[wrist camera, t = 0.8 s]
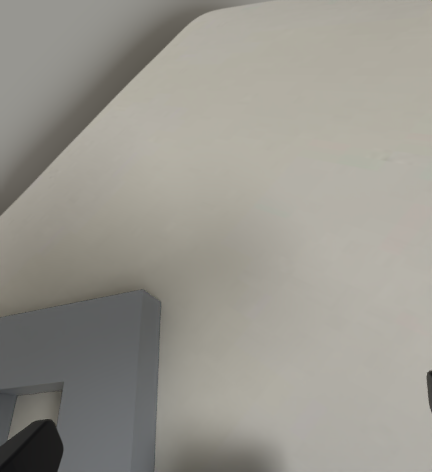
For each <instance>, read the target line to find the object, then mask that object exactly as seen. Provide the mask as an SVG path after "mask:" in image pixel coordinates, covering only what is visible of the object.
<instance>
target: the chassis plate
mask: <svg viewBox="0 0 432 472" xmlns="http://www.w3.org/2000/svg"><path fill="white" fill-rule="evenodd" d="M160 311H161V302H160V301H159V300H158V299H156V298H155V297H153V296H152V295H150V294H149V293H148V292H146V291H145V290H143V289H142V290H137V291H132V292H127V293H122V294H117V295H111V296H106V297H101V298H96V299H91V300H86V301H81V302H76V303H71V304H66V305H61V306H55V307H50V308H45V309H40V310H35V311H30V312H25V313H20V314H15V315H10V316H5V317H0V446H1V445H3V444H4V443H5V442H7V438H8V434H9V429H10V425H11V420H12V416H13V411H14V407H15V402H16V398H17V395H26V394H34V393H43V392H51V391H60V390H63V391H62V398H61V404H60V410H59V416H58V422H57V430H58V433H59V435H60V438H61V440H62V442H63V447H64V451H63V456H62V459H61V463H60V466H59V469H58V472H154V460H155V435H156V411H157V386H158V361H159V336H160Z"/></svg>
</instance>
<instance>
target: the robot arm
mask: <svg viewBox="0 0 432 472" xmlns="http://www.w3.org/2000/svg"><path fill="white" fill-rule="evenodd" d="M427 387H428V398H429V405H430V409H431V412H432V370H431V371H429V372H428V373H427ZM63 451H64V447H63V442H62V440H61V438H60V435H59V433H58V430H57V428H56V426H55V423H54V422H53V421H52V420H50V419H45V420H38V421H35V422H33V423H31V424H30V425H29V426H27V427H26V428H25V429H23V430H22V431H20V432H19V433H18V434H16V435H15V436H14V437H12V438H11V439H9V440H8V441H7V442H5V443H4V444H3V445H1V446H0V472H58V469H59V466H60V463H61V459H62V456H63Z"/></svg>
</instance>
